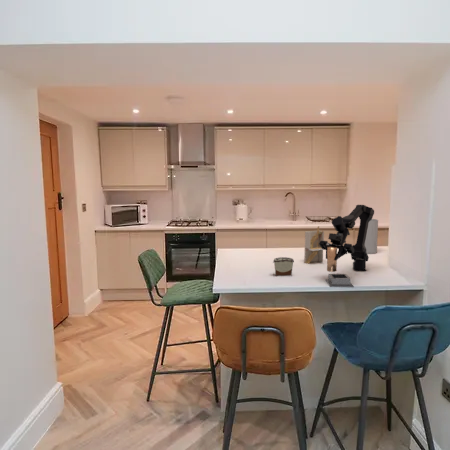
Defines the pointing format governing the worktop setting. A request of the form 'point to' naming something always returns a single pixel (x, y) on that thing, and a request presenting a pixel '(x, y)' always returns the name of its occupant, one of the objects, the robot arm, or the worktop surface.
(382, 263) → the worktop surface
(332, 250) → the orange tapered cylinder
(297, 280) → the worktop surface
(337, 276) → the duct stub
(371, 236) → the grey tall block
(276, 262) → the food container
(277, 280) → the worktop surface
